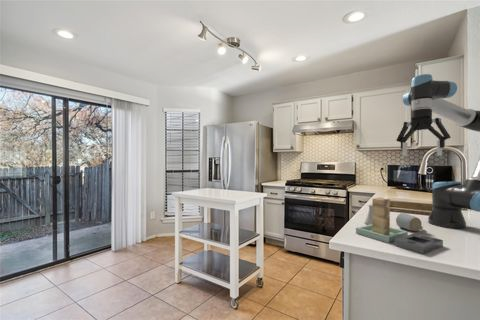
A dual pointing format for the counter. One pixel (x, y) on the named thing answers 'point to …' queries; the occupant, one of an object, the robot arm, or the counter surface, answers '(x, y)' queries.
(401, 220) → the grey cylinder
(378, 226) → the wooden peg
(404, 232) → the green tray
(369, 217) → the flask
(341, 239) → the counter surface
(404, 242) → the gray slotted block
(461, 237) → the counter surface
